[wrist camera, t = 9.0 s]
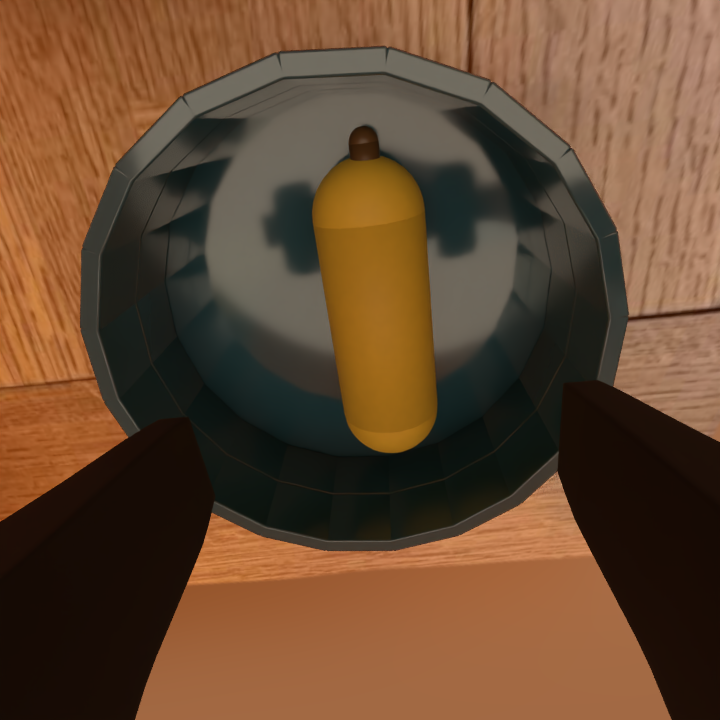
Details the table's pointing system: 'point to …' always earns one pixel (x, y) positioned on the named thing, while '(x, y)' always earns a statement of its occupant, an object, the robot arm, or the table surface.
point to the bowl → (308, 305)
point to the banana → (378, 295)
